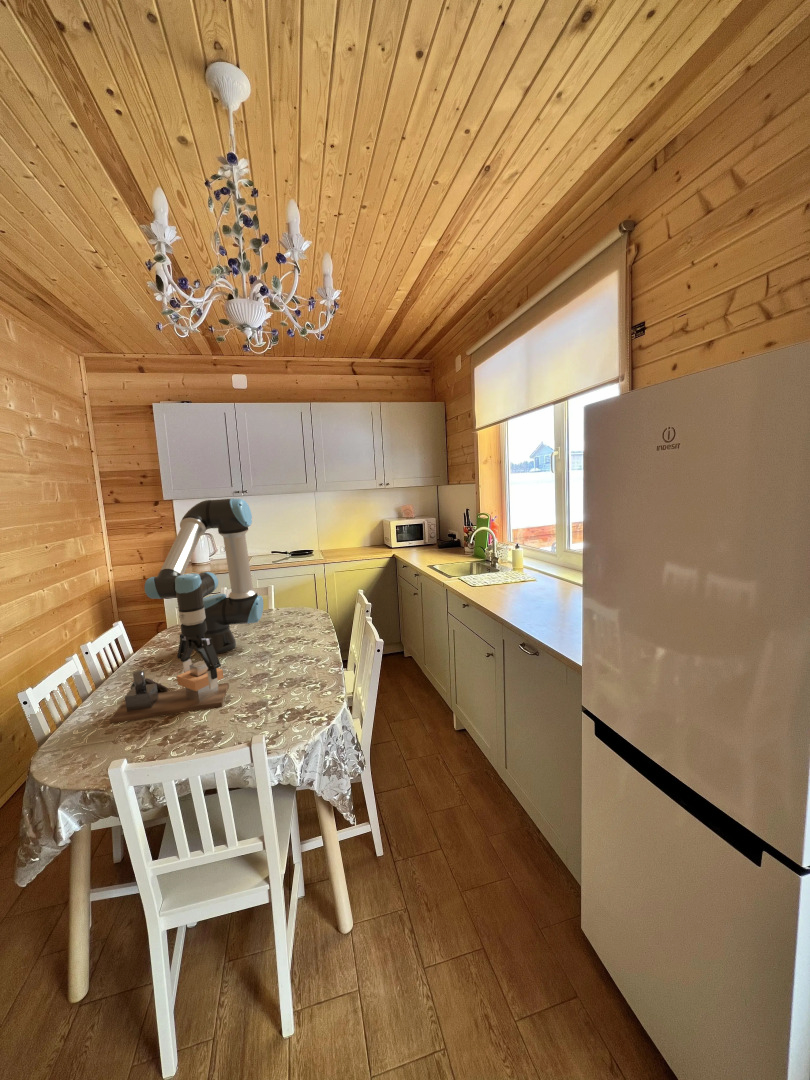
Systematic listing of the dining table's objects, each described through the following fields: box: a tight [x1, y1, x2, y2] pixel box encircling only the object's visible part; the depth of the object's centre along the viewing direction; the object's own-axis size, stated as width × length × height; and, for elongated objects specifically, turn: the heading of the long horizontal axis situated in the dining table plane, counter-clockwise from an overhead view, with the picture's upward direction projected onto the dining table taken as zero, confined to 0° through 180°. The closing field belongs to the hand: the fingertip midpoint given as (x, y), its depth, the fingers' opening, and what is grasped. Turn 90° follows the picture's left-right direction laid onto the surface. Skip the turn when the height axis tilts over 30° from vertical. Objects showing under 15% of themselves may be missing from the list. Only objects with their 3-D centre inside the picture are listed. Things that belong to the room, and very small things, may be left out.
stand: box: [124, 669, 158, 712], centre depth 141 cm, size 7×7×11 cm
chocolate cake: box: [129, 677, 169, 693], centre depth 153 cm, size 10×7×12 cm
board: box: [109, 682, 230, 725], centre depth 144 cm, size 14×32×2 cm, turn 103°
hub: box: [184, 660, 219, 703], centre depth 145 cm, size 7×7×11 cm
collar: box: [176, 667, 225, 691], centre depth 145 cm, size 10×10×3 cm
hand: (201, 683), depth 145 cm, fingers open, 13 cm apart
